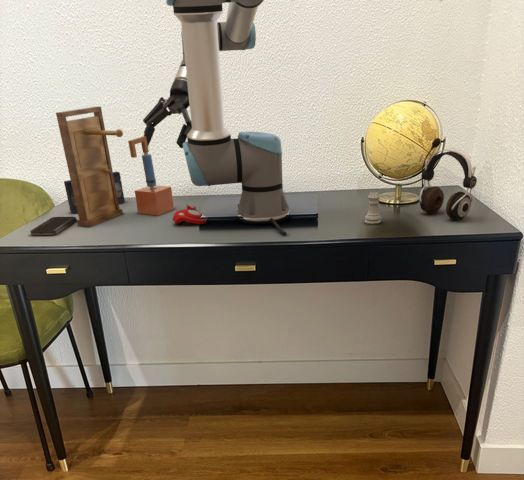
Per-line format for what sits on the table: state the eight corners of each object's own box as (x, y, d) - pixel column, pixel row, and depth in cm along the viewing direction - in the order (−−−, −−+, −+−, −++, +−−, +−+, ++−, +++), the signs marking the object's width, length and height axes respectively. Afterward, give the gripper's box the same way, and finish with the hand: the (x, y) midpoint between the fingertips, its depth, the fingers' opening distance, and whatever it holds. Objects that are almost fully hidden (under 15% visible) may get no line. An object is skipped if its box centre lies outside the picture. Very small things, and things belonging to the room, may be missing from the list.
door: (112, 212, 170) (92, 106, 155) (153, 217, 162) (136, 106, 147) (77, 225, 159) (52, 112, 144) (119, 231, 151) (98, 112, 136)
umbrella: (155, 209, 171) (142, 135, 159) (162, 210, 169) (150, 135, 158) (140, 216, 165) (125, 140, 153) (147, 217, 164) (133, 141, 152)
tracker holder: (213, 218, 154) (182, 216, 148) (210, 232, 156) (179, 231, 151) (195, 201, 162) (165, 198, 156) (192, 214, 164) (162, 212, 158)
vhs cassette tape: (73, 214, 171) (66, 182, 166) (69, 212, 173) (62, 180, 168) (125, 202, 180) (120, 172, 175) (122, 201, 182) (116, 171, 178)
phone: (77, 216, 163) (54, 231, 150) (77, 220, 164) (55, 235, 151) (52, 216, 164) (28, 231, 151) (53, 220, 165) (29, 235, 152)
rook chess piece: (382, 220, 148) (383, 191, 144) (379, 225, 144) (381, 195, 140) (365, 219, 149) (367, 190, 145) (363, 224, 146) (364, 194, 142)
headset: (408, 212, 153) (415, 138, 143) (427, 207, 157) (434, 134, 147) (458, 225, 141) (469, 145, 131) (477, 219, 144) (488, 140, 135)
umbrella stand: (154, 206, 174) (151, 184, 170) (174, 209, 170) (171, 186, 167) (138, 213, 168) (134, 190, 164) (158, 215, 164) (154, 192, 161)
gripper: (223, 94, 166) (200, 153, 163) (160, 95, 178) (137, 150, 174) (212, 76, 160) (188, 138, 156) (147, 78, 171) (123, 135, 167)
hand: (161, 144), depth 165 cm, fingers open, 13 cm apart
